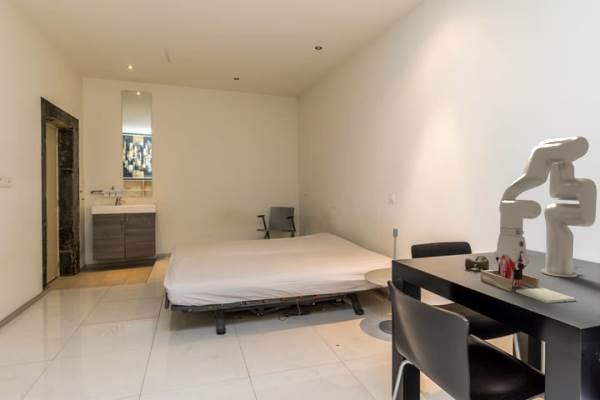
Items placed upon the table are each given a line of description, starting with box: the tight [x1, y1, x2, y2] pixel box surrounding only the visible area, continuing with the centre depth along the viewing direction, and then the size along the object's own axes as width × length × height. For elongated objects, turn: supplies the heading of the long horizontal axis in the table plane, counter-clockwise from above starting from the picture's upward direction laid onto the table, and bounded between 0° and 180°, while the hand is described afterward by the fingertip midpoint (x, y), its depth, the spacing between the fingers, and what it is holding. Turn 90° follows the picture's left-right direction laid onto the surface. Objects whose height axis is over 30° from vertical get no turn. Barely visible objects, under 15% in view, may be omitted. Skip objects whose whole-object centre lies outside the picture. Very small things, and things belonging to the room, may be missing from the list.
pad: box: [515, 287, 577, 304], centre depth 117 cm, size 12×12×1 cm
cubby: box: [480, 269, 540, 292], centre depth 131 cm, size 13×14×4 cm
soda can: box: [500, 254, 521, 288], centre depth 130 cm, size 7×7×12 cm
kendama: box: [464, 255, 490, 271], centre depth 157 cm, size 6×10×20 cm
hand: (509, 276), depth 130 cm, fingers closed on soda can, 6 cm apart
